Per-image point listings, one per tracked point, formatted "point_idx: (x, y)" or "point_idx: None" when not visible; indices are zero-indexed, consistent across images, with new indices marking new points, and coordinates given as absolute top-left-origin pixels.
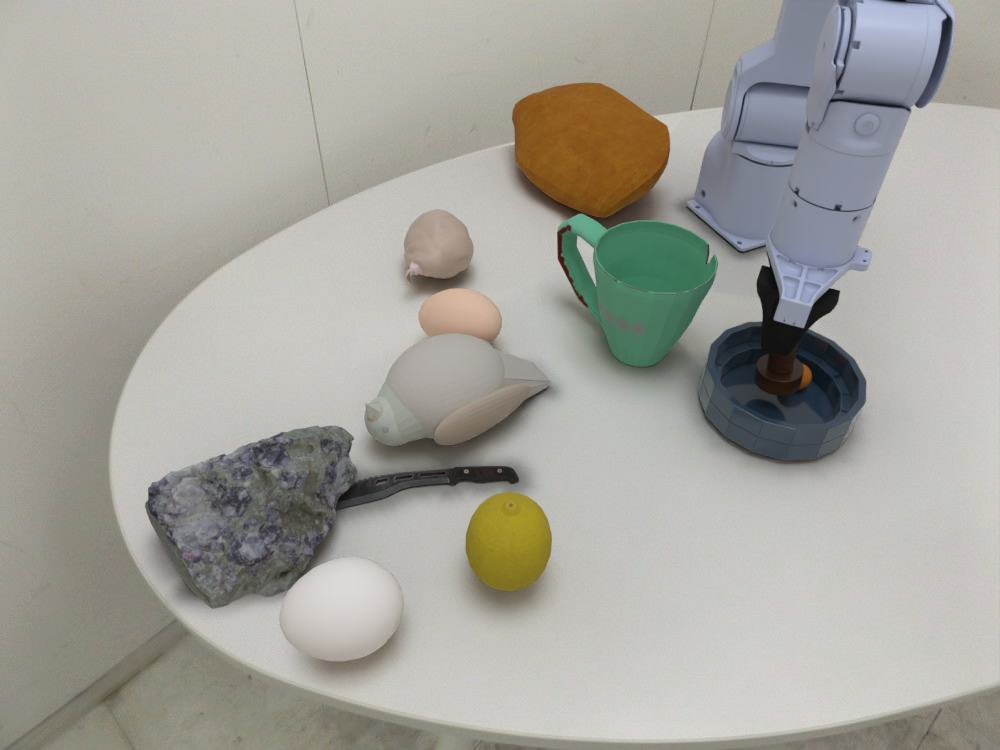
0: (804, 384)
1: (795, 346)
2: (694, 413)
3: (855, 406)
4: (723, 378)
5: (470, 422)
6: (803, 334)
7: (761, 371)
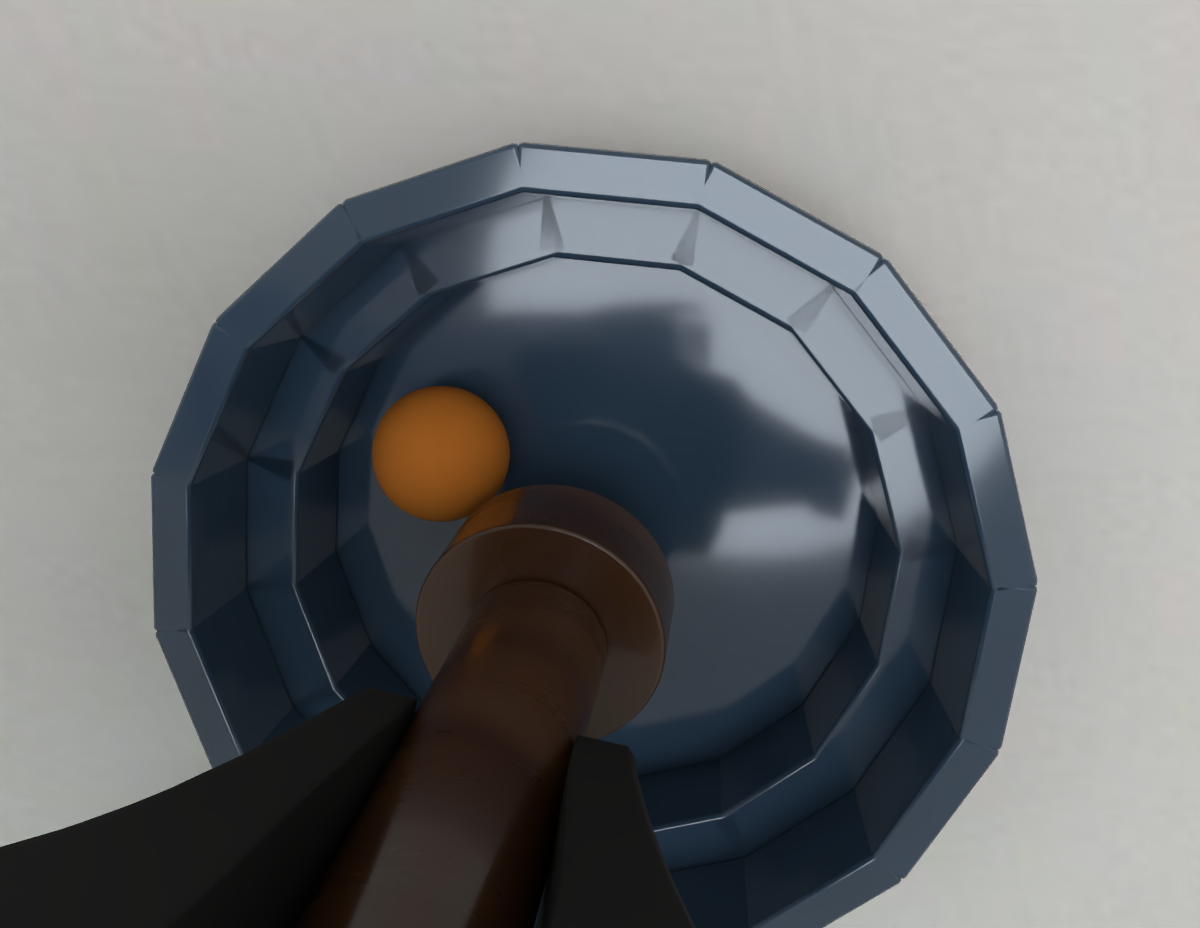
0: (499, 428)
1: (638, 789)
2: None
3: (775, 233)
4: None
5: None
6: (674, 885)
7: (593, 730)
